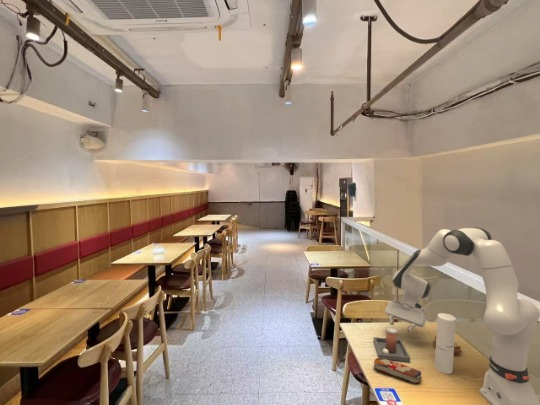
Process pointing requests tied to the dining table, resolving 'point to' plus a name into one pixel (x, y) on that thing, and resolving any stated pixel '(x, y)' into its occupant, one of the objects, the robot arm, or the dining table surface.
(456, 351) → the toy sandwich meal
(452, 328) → the cylindrical container
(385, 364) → the pencil case
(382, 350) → the mixing ball
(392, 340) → the shaker
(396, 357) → the tray
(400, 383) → the dining table surface
